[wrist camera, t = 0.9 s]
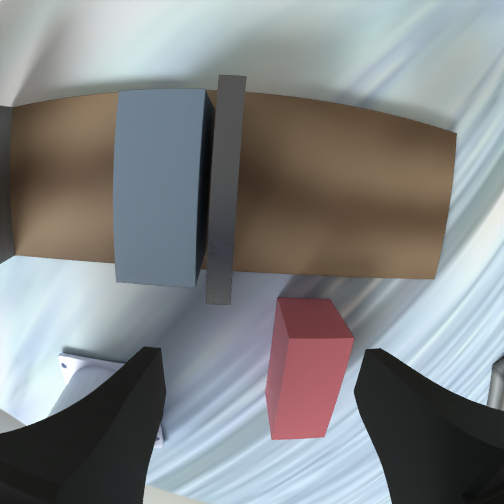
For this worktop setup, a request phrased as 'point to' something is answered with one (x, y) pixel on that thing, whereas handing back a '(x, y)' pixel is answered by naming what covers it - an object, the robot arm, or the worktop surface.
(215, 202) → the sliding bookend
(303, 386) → the red rectangular block
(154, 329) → the worktop surface
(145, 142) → the slate book
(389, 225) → the book shelf
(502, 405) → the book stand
